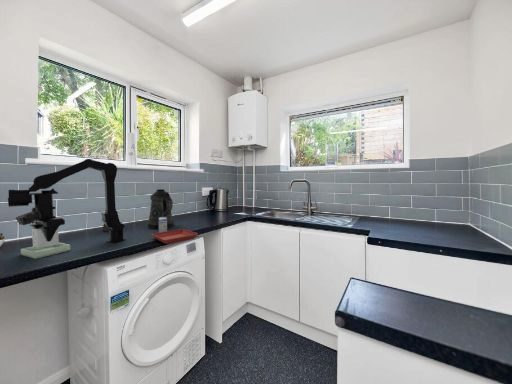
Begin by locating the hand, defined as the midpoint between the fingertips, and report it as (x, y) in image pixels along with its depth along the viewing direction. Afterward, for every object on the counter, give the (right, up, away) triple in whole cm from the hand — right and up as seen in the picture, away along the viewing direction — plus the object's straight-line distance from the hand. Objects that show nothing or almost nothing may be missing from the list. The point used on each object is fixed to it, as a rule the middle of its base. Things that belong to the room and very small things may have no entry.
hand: (46, 240), depth 97 cm
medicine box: (+35, -3, +37) cm, 51 cm away
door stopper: (0, -3, +45) cm, 45 cm away
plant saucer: (+47, -5, +22) cm, 53 cm away
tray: (0, -5, 0) cm, 5 cm away
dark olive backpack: (+28, -2, +54) cm, 61 cm away
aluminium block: (0, -2, 0) cm, 2 cm away
